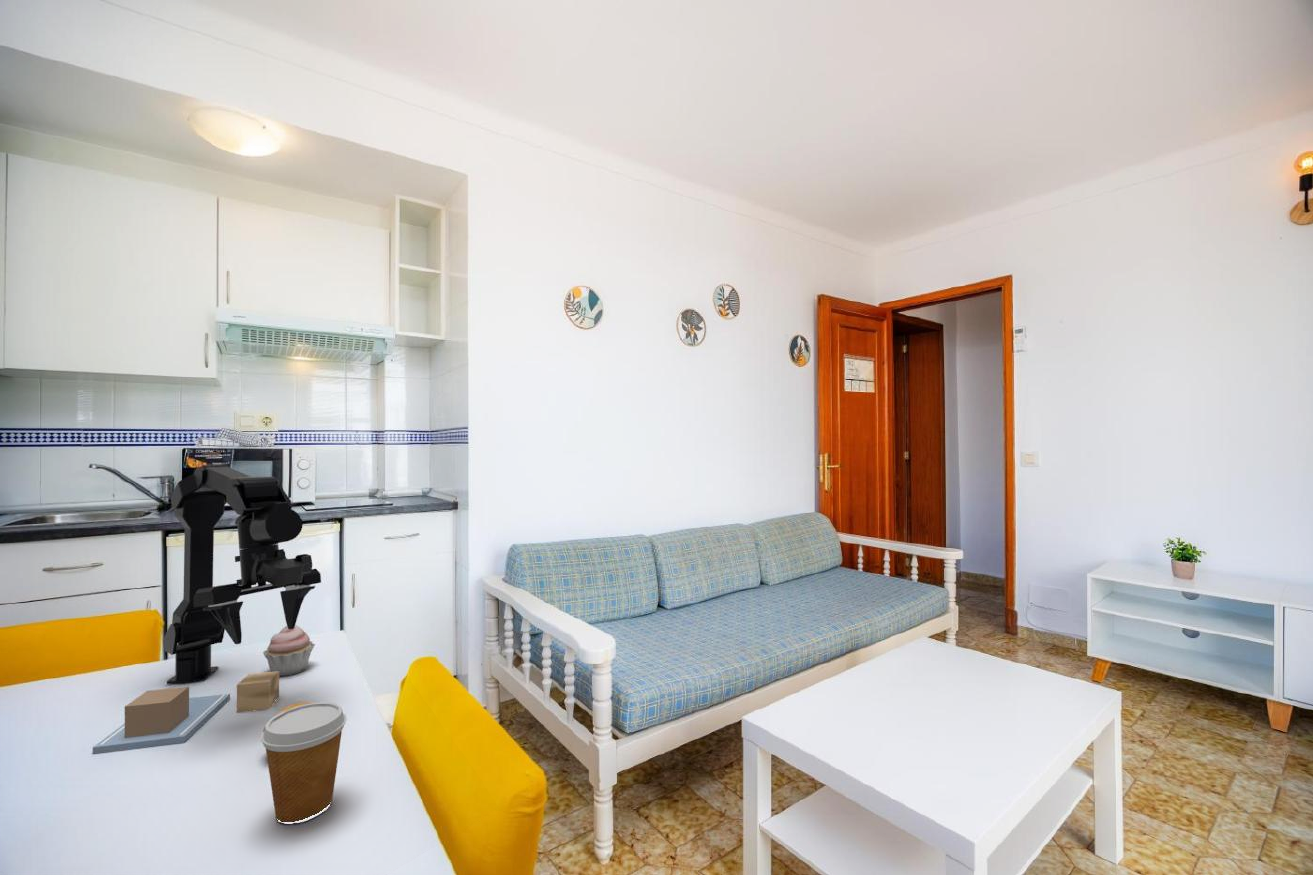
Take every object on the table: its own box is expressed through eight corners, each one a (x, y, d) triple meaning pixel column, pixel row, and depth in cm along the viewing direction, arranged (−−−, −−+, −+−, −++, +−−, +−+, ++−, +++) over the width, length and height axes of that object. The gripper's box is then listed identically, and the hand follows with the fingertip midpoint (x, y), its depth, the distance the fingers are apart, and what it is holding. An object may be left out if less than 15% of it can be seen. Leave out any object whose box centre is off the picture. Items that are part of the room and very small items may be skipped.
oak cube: (248, 700, 105) (248, 674, 105) (278, 697, 106) (279, 671, 107) (236, 713, 100) (236, 685, 100) (268, 709, 102) (268, 681, 102)
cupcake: (259, 683, 112) (259, 633, 113) (265, 667, 121) (265, 620, 121) (313, 674, 117) (314, 626, 117) (316, 659, 125) (316, 614, 125)
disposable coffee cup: (329, 778, 80) (329, 694, 81) (358, 805, 74) (358, 714, 74) (249, 812, 73) (250, 719, 73) (274, 845, 67) (275, 744, 67)
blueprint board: (153, 707, 102) (153, 674, 102) (230, 699, 106) (230, 667, 106) (92, 753, 87) (92, 714, 87) (184, 742, 90) (185, 705, 90)
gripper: (232, 549, 89) (239, 650, 87) (338, 535, 106) (345, 619, 104) (188, 556, 92) (194, 653, 91) (297, 542, 110) (304, 623, 108)
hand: (265, 636), depth 98 cm, fingers open, 9 cm apart
